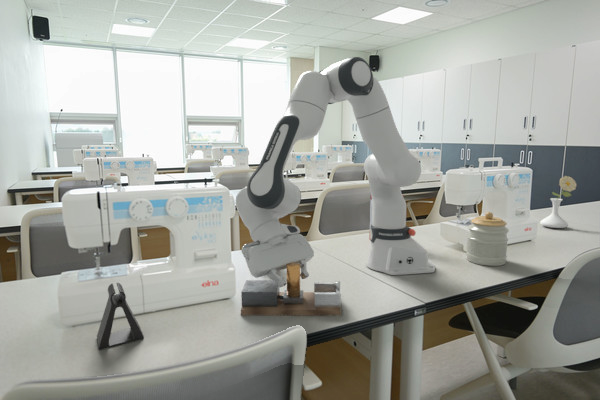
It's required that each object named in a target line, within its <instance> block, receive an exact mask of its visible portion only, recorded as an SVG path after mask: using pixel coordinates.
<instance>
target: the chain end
mask: <svg viewBox="0 0 600 400" xmlns="http://www.w3.org/2000/svg"><path fill="white" fill-rule="evenodd" d="M300 273H301V268H300V264H299V263H289V264H287V268H286V290H284V295H280V296H279V297H278V298H279V299H283V303H298V304H303V292H304V290H301V276H300Z"/></svg>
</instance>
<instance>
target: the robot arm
mask: <svg viewBox="0 0 600 400" xmlns="http://www.w3.org/2000/svg"><path fill="white" fill-rule="evenodd" d="M344 101H348V103H350V105H351V107H352V111H353V114H354V115H353V116H354V118H355V121H356V124H357V126H358V129H359V133H360V137H361V138H362V141H363V143H364V144H365V145H366V146H367V147H368V149H369V150H370V152H371V154H369V155H368V156H367V157H366V159H365V160H364V163H363V171H364V173H365V174H366V177H367V179H368V185H369V189H370V195H371V196H372V225H371V229H370V228H369V234H370V239H369V241H370V248H369V254H368V258H367V261H366V264H365V265H366V266H367V268H368V269H371V270H373V271H377V272H381V273H385V274H387V275H391V276H402V275H416V274H429V273H430V274H431V273H434V272H435V271H436V265H435V264H434V263H433V262H432V261H431V260H430V259H429V257H428V256H429V255H428V252H427V250H426V249H425V247H424V246H422V245H421V244H420V242H418V241H416V240H415V239H414V238H413V237H414V236H415V235H416V230H414V229H413V228H411V227H410V226H407V202H406V199H405V198H404V196H402V195H403V194H402V190H401V189H402V188H405V187H411V186H413V185H414V184H416V183H417V182H418V181H419V179H420V177H421V173H422V166H421V163H420V161H419V159H418V158H417V157H415V155H413V154H412V152H411V151H410V150H409V148H408V146H407V145H406V143H405V141H404V139H403V138H402V136H401V135H400V133H399V130H398V128H397V126H396V122H395V120H394V117H393V114H392V111H391V108H390V104H389V101H388V98H387V96H386V94H385V92H384V90H383V88H382V86H381V84H380V82H379V80H378V79H377V78H375V77H374V75H373V71H372V68H371V67H370V65H369V63H368V62H367V60H365V59H364V58H362V57H360V56H351V57H346V58H345V59H343V60H340V61H337V62H334V63H332V64H330V66H328V67H326V68H324V69H322V70H320V71H316V70H308V71H305V72H303V73H302V74H300V76H299V78H298V79H297V81H296V83H295V85H294V87H293V89H292V91H291V95H290V96H289V101H288V102H287V106H286V108H285V112H284V114H283V116H282V117H281V118H280V119H279V120H278V122H277V124H276V125H275V127H274V130H273V132H272V134H271V136H270V139H269V141H268V144H267V146H266V148H265V151H264V153H263V156H262V158H261V160H260V162H259V164H258V166H257V168H256V169H255V170H254V172H253V173H252V174H251V176H250V178H249V180H248V182H247V186H245V187H243V188H242V189H241V190H240V191H239V192H238V193H237V195H236V197H235V207H236V210H237V211H238V212H237V213H238V215H239V217H240V219H241V221H242V223H243V225H244V226H245V227H246V228H247V229H248V231H249V235H250V238H251V240H252V241H253V242H250V243H247V242H246V243H244V244H243V246H242V247H241V254H242V255H243V257H244V259H245V262H246V265H247V268H248V270H249V272H250V275H251V276H252V277H254V278H256V279H257V278H260V277H263V276H266V275H268V278H269V279H270V280H273V281H275V282H277V284H278V286H279V288H283V287H285V286H287V280H286V279H285V277H281V276H280V275H279V274H278V272H280V271H282V270H285V269H286V270H287V264H289V263H299V264H300V279H301V280H304V279H308V278H309V276H310V273H309V272H308V271H307V269H308V268H307V262H308V263H309V262H310V260H312V258H313V257H314V255H315V253H314V249H313V247H312V246H311V244H310V242H309V241H308V240H307V239H306V238H307V237H305V236H303V235H302V234H301V229H300V228H299V226H297V225H290V224H285V223H281V222H280V221H279V219H282V218H284V217H287V216H288V215H290V214H292V213H293V212H295V211H297V209H298V208H299V206H300V204H301V201H302V194H301V190H300V189H299V187H298V186H297V185H296V184H294V183H293V182H292V181H290V180H289V179H287V178H285V176H284V173H285V172H284V171H285V169H286V165H287V162H288V160H289V156H290V155H291V151H292V149H293V147H294V145H295V144H296V143H297V142H298V141H305V140H310V139H312V138H314V137H315V136H317V135H318V134H319V132H320V130H321V128H322V126H323V123H324V120H325V118H326V117H325V116H326V113H327V109H328V105H332V104H334V103H341V102H344Z"/></svg>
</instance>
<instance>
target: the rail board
mask: <svg viewBox="0 0 600 400" xmlns="http://www.w3.org/2000/svg"><path fill="white" fill-rule="evenodd" d="M280 295H284V292H283V291H280ZM280 295H279V296H280ZM323 315H341V316H342V309H341V307H315V296H314V291H312V292H311V291H310V292H309V291H303V304H298V303H283V299H279V298H278V306H277V307H242V306H241V309H240V316H323Z"/></svg>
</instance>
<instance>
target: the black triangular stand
mask: <svg viewBox="0 0 600 400" xmlns="http://www.w3.org/2000/svg"><path fill="white" fill-rule="evenodd" d="M116 287H117V290H118V293H117V294H116V289H115V286H114V283H111V284H109V286H108V287H107V293H108V298H107V302H106V306H105V309H104V312H103V315H102V318H101V320H100V325H99V329H98V331H97V334H96V340H97V346H98V350H99V351H102V350H106V349H108V348H113V347H118V346H121V345H124V344H129V343H132V342H137V341H141V340H143V339H144V338H145V337H144V334H143V331H142V329H141V326H140V324H139V322H138V321H137V318H136V317H135V315H134V313H133V311H132V310H131V307H130V306H129V304H128V302H127V300H126V298H127V296H126V293H125V291H124V288H123V285H122V284H121V283H119V282H116ZM118 308H121V309H122V310H123V313H124V315H125V318H126V319H127V322H128V325H129V327H130V328H126V329H122V330H118V331H113V332H112V330H113V329H112V328H113V324H114V317H115V313H116V310H117V309H118Z"/></svg>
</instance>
